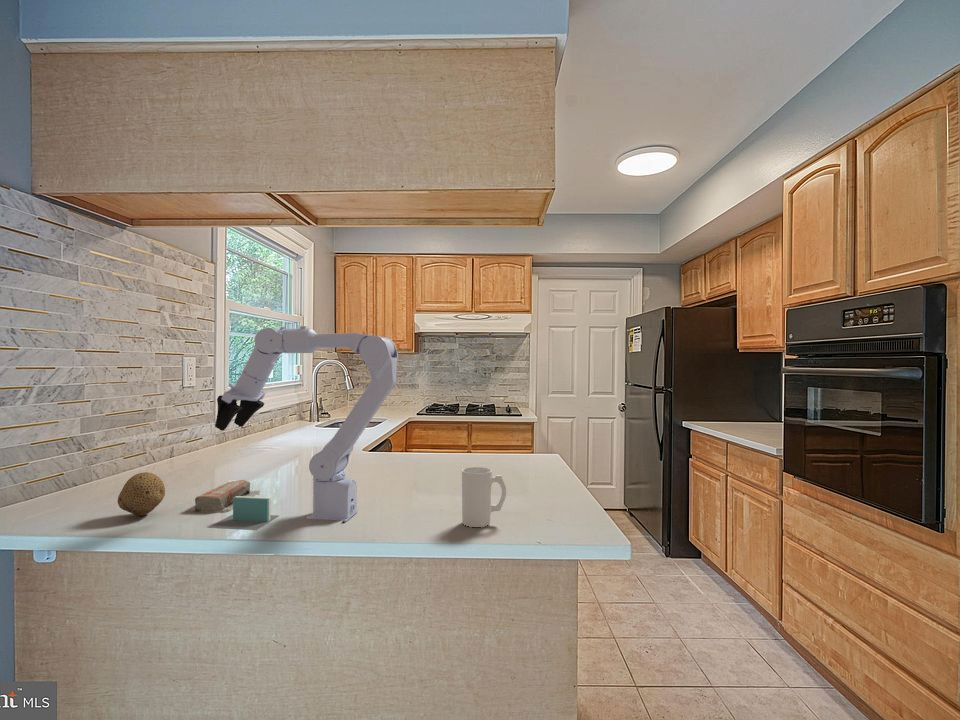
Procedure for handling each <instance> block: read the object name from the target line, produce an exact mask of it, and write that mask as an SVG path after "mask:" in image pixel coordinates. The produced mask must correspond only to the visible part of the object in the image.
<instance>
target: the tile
mask: <svg viewBox="0 0 960 720" xmlns="http://www.w3.org/2000/svg"><path fill="white" fill-rule="evenodd" d="M271 498H272V497H271V496H270V497H267V496H265V497H263V496H254V497H247V496H236V497H234V498H233V510H232V515H233V520H238V521H259V522H268V521H270V515H271V502H272V501H271Z"/></svg>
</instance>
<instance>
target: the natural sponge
mask: <svg viewBox="0 0 960 720" xmlns="http://www.w3.org/2000/svg"><path fill="white" fill-rule="evenodd" d="M165 496H166V486H165V484H164V482H163V480H162V479H161V478H160V477H159V476H158V475H156V474H154V473H153V472H148V471H145V472H139V473H136V474H134V475H133V476H131V477H129V479H128V480H127V481H125V483H124V485H123V487H122V489H121V491H120V493H119V494H118V497H117V505H118V507H119V508H120V509H121V510H122V511H125V512H128V513H130V514H132V515H134V516H139V517H143V516H146V515H148V514H150V513H151V512H152V511H153V510H155V508H156V507H158V506H159V504H161V503H162V501H163V499H164V498H165Z"/></svg>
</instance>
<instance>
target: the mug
mask: <svg viewBox="0 0 960 720" xmlns="http://www.w3.org/2000/svg"><path fill="white" fill-rule="evenodd" d="M492 472H493V469H491V468H488V467H485V466H484V467H481V466H480V467H479V466H470V467H464V468H462V469H461V501H462V502H461V511H462V513H461V514H462V518H461V519H462V525H463V524H464V525H463V526H465V525H466V526H465V527H467V526H469V527H468V528H472V527H481V528H486V527H488V526H490V525H491V514H492V513H493V512H501V510H502V507H503V505H504V502H505V500H506V497H507V486H506V484H505V481H504V479H503V476H502V474H496V475H495V476H492ZM493 483H497V484H498V485H499V486H500V488H501V489H500V490H501V495H500V498H499V500H498V502H497V503H496V504H493V503H492V484H493ZM487 525H488V526H487ZM485 526H486V527H485Z"/></svg>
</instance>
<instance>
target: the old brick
mask: <svg viewBox="0 0 960 720" xmlns="http://www.w3.org/2000/svg"><path fill="white" fill-rule="evenodd" d="M260 492H261V490H251V482H250V481H248V480H245V479H238V480H235V481H234V480H233V481H229V482H226V483H223V484H222V485H219V486H217V487H214V489H211V490H208V491H206V492H204V493H202V494H200V495H197V496H196V497H195V498H194V500H195V501H194V503H195V505H194V507H192V508H191V509H188V510H186V511H185V512H186V513H229V512H232V511H233V498H234V497H236V496H247V497H257V496H259V495H260Z"/></svg>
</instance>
